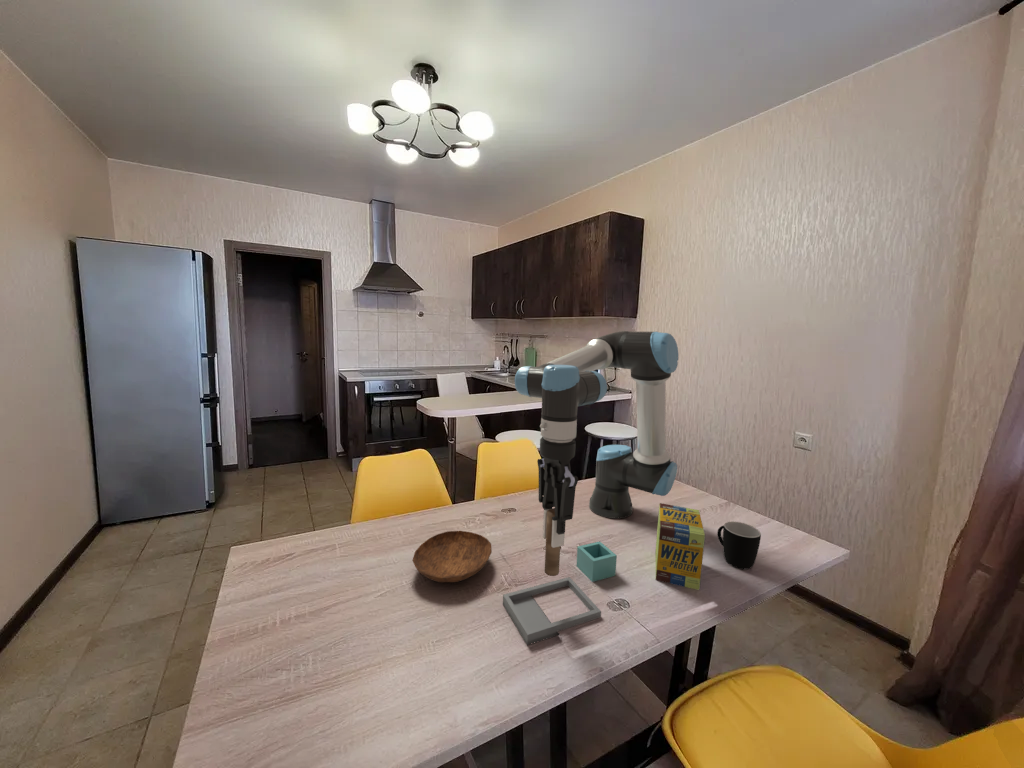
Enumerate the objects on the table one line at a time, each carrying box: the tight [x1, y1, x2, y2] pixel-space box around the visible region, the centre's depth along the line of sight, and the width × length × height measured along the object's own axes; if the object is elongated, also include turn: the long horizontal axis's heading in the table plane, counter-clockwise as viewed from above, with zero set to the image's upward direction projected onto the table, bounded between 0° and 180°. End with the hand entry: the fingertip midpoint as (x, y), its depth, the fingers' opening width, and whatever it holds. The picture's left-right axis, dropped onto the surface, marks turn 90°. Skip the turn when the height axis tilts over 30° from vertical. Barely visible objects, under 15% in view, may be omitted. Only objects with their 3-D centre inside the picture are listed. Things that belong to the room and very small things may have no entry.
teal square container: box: [575, 540, 618, 583], centre depth 103 cm, size 7×7×7 cm
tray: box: [502, 576, 602, 646], centre depth 89 cm, size 13×18×2 cm
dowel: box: [544, 509, 561, 577], centre depth 87 cm, size 3×3×14 cm
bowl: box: [412, 530, 493, 583], centre depth 104 cm, size 20×22×5 cm
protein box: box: [654, 502, 706, 591], centre depth 105 cm, size 10×15×16 cm
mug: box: [716, 520, 762, 570], centre depth 111 cm, size 12×9×10 cm
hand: (553, 541), depth 87 cm, fingers closed on dowel, 3 cm apart
